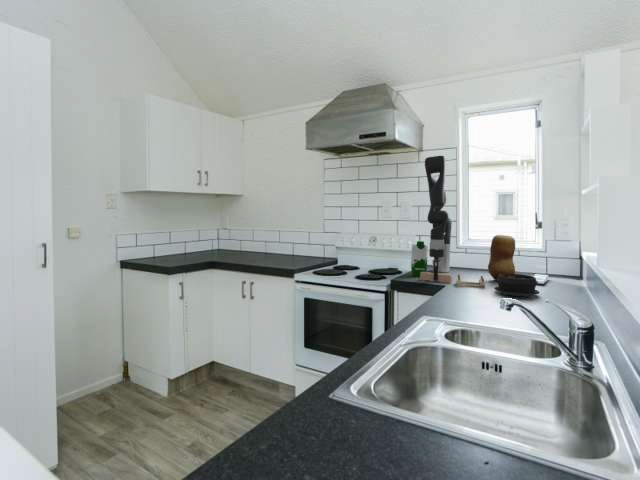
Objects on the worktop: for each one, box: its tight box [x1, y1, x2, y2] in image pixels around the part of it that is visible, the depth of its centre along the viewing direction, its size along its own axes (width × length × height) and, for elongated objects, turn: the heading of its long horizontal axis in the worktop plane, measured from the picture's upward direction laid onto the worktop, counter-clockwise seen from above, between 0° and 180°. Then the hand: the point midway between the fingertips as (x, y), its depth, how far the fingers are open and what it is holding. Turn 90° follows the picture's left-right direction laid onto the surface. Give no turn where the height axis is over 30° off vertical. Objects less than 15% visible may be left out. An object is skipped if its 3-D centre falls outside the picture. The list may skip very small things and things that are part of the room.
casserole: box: [494, 273, 540, 298], centre depth 180 cm, size 25×19×8 cm
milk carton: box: [410, 240, 429, 278], centre depth 228 cm, size 9×9×20 cm
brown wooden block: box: [419, 271, 453, 284], centre depth 212 cm, size 4×16×4 cm, turn 60°
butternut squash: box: [487, 234, 516, 283], centre depth 213 cm, size 14×13×25 cm
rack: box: [456, 274, 486, 289], centre depth 201 cm, size 10×13×4 cm
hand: (435, 279), depth 212 cm, fingers closed on brown wooden block, 4 cm apart
